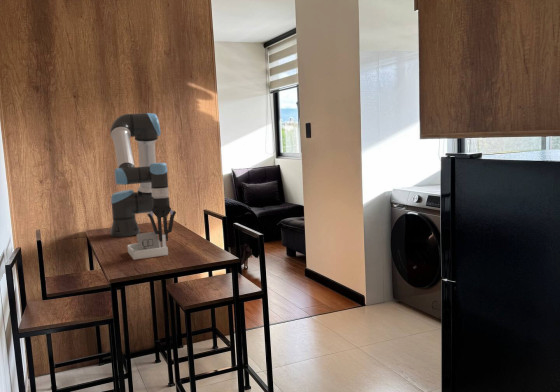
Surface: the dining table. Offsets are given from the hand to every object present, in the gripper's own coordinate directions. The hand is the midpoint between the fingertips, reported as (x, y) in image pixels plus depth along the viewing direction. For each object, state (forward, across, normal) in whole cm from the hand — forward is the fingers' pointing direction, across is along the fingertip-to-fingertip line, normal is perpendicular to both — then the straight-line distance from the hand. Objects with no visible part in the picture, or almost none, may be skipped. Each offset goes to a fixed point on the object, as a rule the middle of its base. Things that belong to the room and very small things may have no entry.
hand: (164, 248), depth 243 cm
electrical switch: (+2, -7, +2) cm, 8 cm away
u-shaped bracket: (+2, -8, 0) cm, 8 cm away
